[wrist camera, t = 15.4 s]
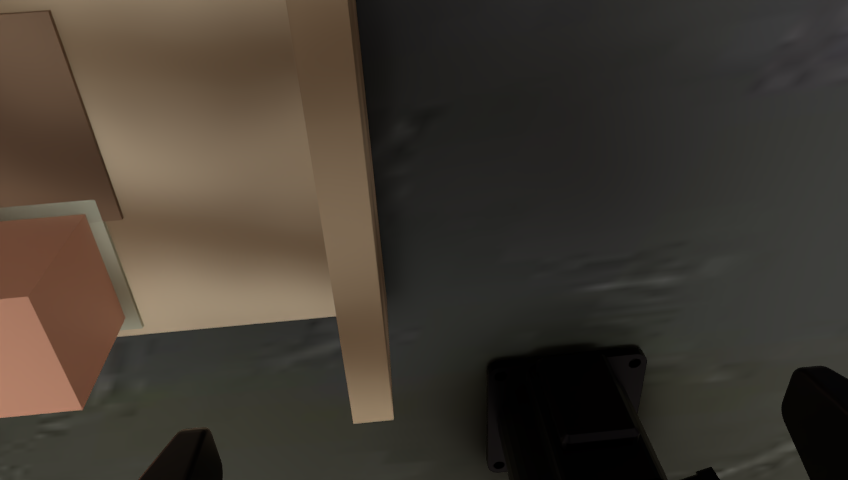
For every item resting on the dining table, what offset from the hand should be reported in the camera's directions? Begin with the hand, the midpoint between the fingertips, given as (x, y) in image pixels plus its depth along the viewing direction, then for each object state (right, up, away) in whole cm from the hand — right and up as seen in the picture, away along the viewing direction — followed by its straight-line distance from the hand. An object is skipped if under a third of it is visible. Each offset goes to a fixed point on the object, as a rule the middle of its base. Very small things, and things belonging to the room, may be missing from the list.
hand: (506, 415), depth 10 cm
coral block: (-14, +2, +11) cm, 18 cm away
